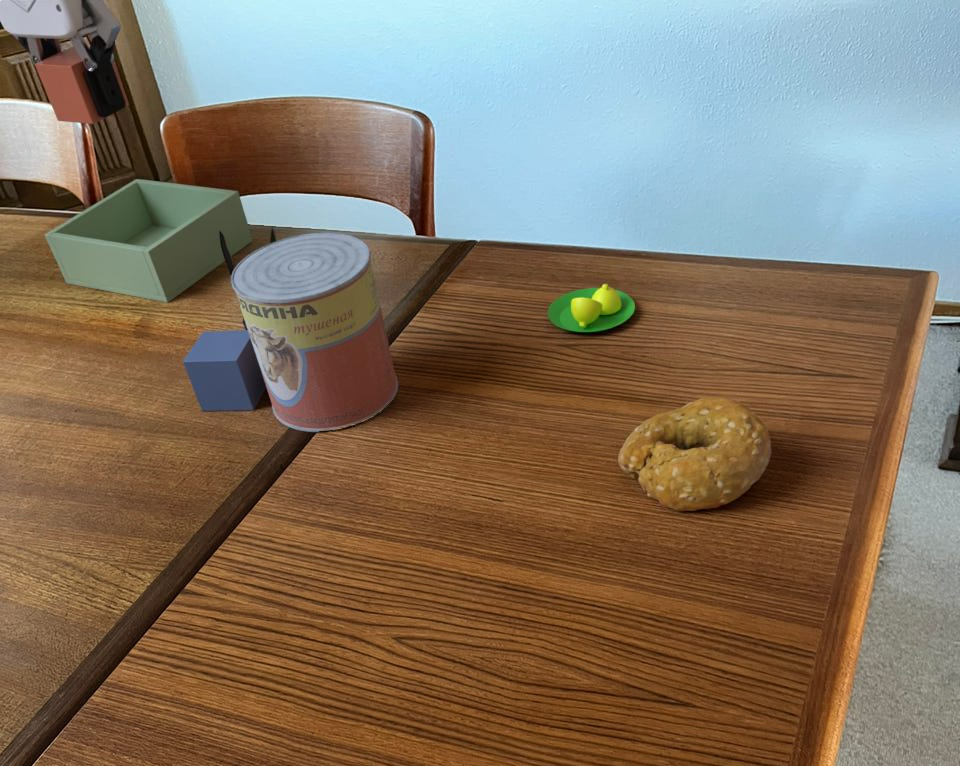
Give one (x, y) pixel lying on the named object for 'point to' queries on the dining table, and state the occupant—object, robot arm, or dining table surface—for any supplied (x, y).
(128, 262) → the bin
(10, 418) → the dining table surface
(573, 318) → the green plate with lemons
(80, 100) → the terracotta block
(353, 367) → the canned food
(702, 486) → the bagel
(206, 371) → the slate-blue block
